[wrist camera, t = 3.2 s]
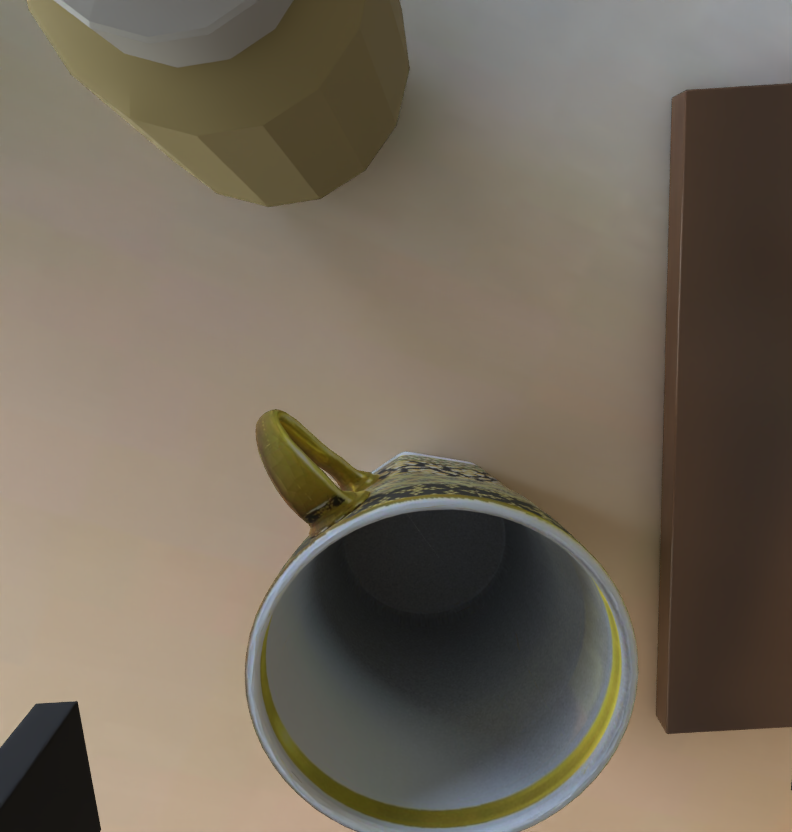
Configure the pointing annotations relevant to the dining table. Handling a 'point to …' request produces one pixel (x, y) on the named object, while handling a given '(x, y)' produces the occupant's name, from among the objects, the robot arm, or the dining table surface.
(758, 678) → the serving board
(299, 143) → the squeeze bottle
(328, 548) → the ceramic cup
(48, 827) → the robot arm
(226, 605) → the dining table surface
